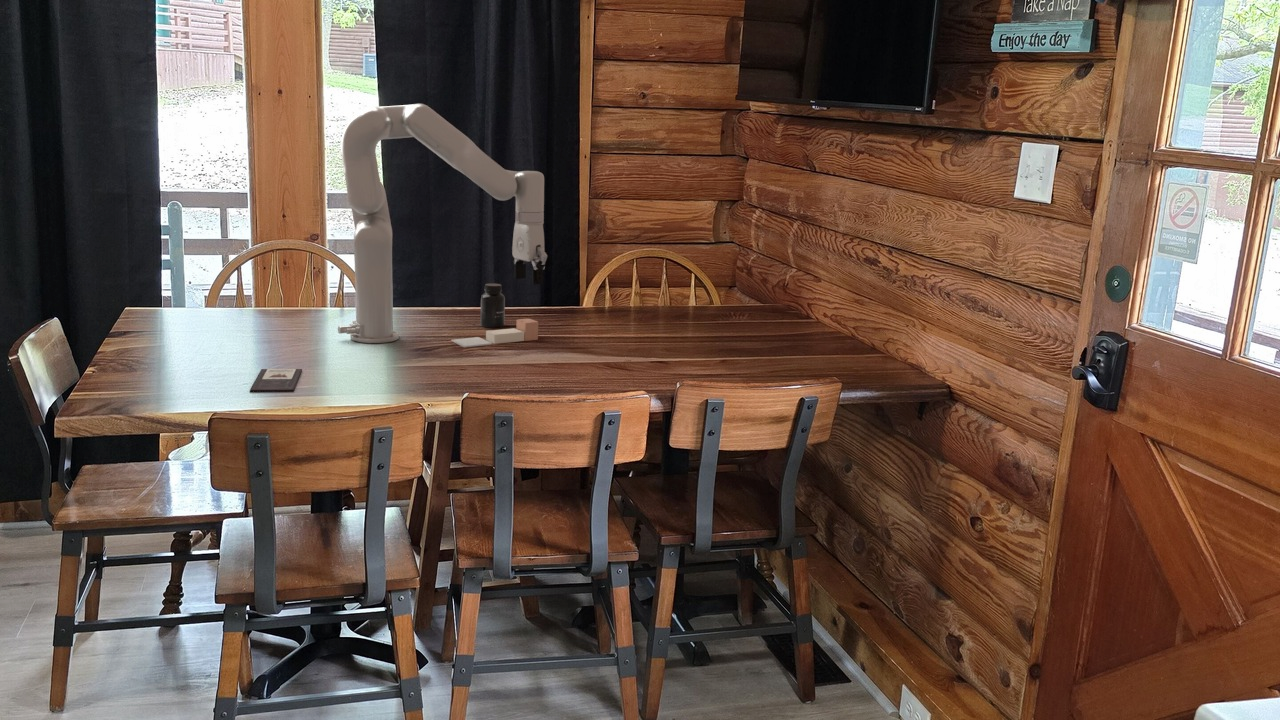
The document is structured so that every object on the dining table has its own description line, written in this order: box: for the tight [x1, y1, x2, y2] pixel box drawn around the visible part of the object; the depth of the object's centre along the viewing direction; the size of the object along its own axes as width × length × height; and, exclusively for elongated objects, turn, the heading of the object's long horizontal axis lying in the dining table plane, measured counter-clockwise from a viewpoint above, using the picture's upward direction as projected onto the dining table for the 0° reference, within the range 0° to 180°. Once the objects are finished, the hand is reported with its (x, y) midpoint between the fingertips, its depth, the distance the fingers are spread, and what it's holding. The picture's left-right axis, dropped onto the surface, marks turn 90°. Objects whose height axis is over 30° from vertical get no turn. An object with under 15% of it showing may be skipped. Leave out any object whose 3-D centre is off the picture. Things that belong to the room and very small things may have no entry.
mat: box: [451, 336, 493, 348], centre depth 280 cm, size 8×8×1 cm
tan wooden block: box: [515, 318, 539, 342], centre depth 288 cm, size 4×5×5 cm
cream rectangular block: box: [485, 327, 524, 345], centre depth 285 cm, size 9×5×3 cm, turn 125°
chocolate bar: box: [249, 368, 303, 393], centre depth 236 cm, size 9×1×18 cm
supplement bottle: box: [480, 283, 506, 329], centre depth 301 cm, size 7×7×12 cm
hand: (528, 281), depth 285 cm, fingers open, 9 cm apart
